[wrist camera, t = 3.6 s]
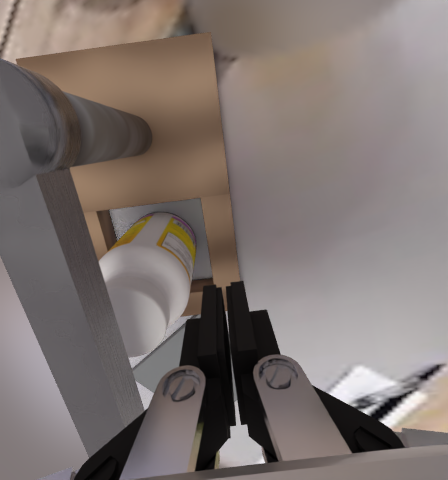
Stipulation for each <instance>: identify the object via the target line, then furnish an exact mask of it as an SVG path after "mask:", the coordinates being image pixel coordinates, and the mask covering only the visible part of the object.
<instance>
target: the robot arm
mask: <svg viewBox="0 0 448 480" xmlns="http://www.w3.org/2000/svg"><path fill="white" fill-rule="evenodd" d="M230 284H231V286H226V298H227V311H228V325H229V334H228V327H227V320H226V313H225V306H224V299H223V292H222V287H217V285H216V284H214V285H206V286H203V294H202V306H201V318H195V319H187V321H186V326H185V332H184V338H183V344H182V351H181V357H180V363H179V367H177V368H174V369H172V370H170V371H169V372H167V373H166V374H165V375H164V376H163V377H162V378H161V380H160V381H159V383H158V385H157V388H156V390H155V393H154V395H153V397H152V400H151V402H150V405H149V407H148V409H146V410H145V411H144V412H143V413H142V414H141V415H139V416H138V417H137V418H136V419H135V420H133V421H132V422H131V423H130V424H129V425H128V426H126V427H125V428H124V429H123V430H122V431H121V432H119V433H118V434H117V435H116V436H115V437H114V438H112V439H111V440H110V441H109V442H108V443H106V444H105V445H104V446H103V447H102V448H101V449H99V450H98V451H97V452H96V453H95V454H94V455H92V456H91V457H90V458H89V459H88V460H87V461H86V462H85V463H84V464H83V465H82V467H81V468H80V469H79V470H76V471H74V469H73V467H71V468H68V469H65V470H63V471H60V472H57V473H54V474H51V475H49V476H46V477H43V478H40V479H38V480H448V433H444V432H435V431H426V430H417V429H407V428H402V432H393V431H392V430H391V429H390V428H389V427H387V426H386V425H384V424H383V423H381V422H379V421H378V420H376V419H374V418H372V417H370V416H368V415H366V414H365V413H363V412H361V411H359V410H357V409H355V408H353V407H352V406H350V405H348V404H346V403H344V402H342V401H341V400H339V399H337V398H335V397H333V396H331V395H329V394H328V393H326V392H324V391H322V390H320V389H318V388H316V387H315V386H313V385H311V383H310V381H309V379H308V378H307V376H306V374H305V373H304V371H303V369H302V368H301V366H300V365H299V364H298V363H297V362H296V361H295V360H293V359H292V358H290V357H287V356H285V355H281V354H280V351H279V348H278V344H277V341H276V338H275V335H274V331H273V328H272V325H271V322H270V319H269V315H268V312H267V310H259V311H251V312H249V307H248V302H247V297H246V292H245V287H244V283H243V281H237V282H230ZM229 338H230V341H229ZM230 350H231V351H230ZM231 359H232V364H231ZM232 366H233V373H234V380H235V386H236V393H237V400H238V407H239V414H240V421H241V425H245V424H247V426H248V433H249V437H251V438H252V439H253V440H254V441H256V442H257V443H258V444H259V445H260V446H261V447H262V454H263V457H264V461H265V463H264V464H255V465H246V466H238V467H229V468H221V469H219V461H220V451H219V449H220V448H221V447H222V446H223V444H224V443H225V442H226V441H227V440H228V438H231V437H230V426H236V418H235V405H234V391H233V378H232Z"/></svg>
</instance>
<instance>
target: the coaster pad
mask: <svg viewBox="0 0 448 480" xmlns="http://www.w3.org/2000/svg"><path fill="white" fill-rule="evenodd" d="M195 318H201V314H198V315H194V316H193V317H192V318H191V319H195ZM185 326H186V323H185V324H184V325H183V326H182V327H180V328H179V329H178V330H177V331H176V332H175V333H173V334H172V335H171V336H170V337H169V338H168V339H167V340H165V341H164V342H163V343H162V344H161V345H160V346H158V347H157V348H156V349H155V350H154V351H153V352H151V353H150V354H149V355H148V356H147V357H146V358H145V359H143V360H142V361H141V362H140V363H139V364H138V365H136V366H135V367H134V368H133V369H132V372H133V375H134V378H135V380H136V381H137V382H139V383H140V384H141V385H143V386H144V387H146V388H147V389H149V390H150V391H152V392H153V393H155V390H156V388H157V385H158V383H159V381H160V380H161V378H162V377H163V376H164V375H165V374H166V373H167V372H169V371H170V370H172V369H174V368H177V367H179V363H180V357H181V351H182V344H183V338H184V332H185ZM229 341H230V338H229ZM230 351H231V350H230ZM231 364H232V359H231ZM232 378H233V391H234V402H235V401H236V400H237V393H236V386H235V380H234V373H233V366H232Z"/></svg>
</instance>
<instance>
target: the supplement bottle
mask: <svg viewBox="0 0 448 480" xmlns="http://www.w3.org/2000/svg"><path fill="white" fill-rule="evenodd" d="M195 256H196V239H195V236H194V233H193V231H192V230H191V228H190V227H189V225H188V224H187V223H186V222H185V221H183V220H182V219H181V218H179V217H177V216H175V215H173V214H169V213H164V212H156V213H151V214H148V215H145V216H143V217H142V218H140V219H139V220H138V221H137V222H135V223H134V224H133V225H132V226H131V228H130V229H129V230H128V231H127V232H126V233H125V234H124V235H123V236H122V237H121V238H120V239H119V240H118V241H117V242H116V243H115V245H114V246H113V247H112V248H111V249H110V250H109V251H108V252H107V253H106V254H105V255H104V256H103V257H102V258H101V259H100V260H99V261H98V262H99V265H100V268H101V271H102V275H103V278H104V281H105V284H106V288H107V291H108V294H109V297H110V301H111V304H112V307H113V310H114V313H115V317H116V320H117V323H118V326H119V330H120V333H121V336H122V339H123V343H124V346H125V349H126V352H127V356H128V357H136V356H141V355H144V354H146V353H148V352H150V351H152V350H153V349H155V348H156V347H157V346H158V345H159V344H160V343H161V341H162V340H163V338H164V336H165V333H166V330H167V327H169V326H171V325H172V324H173V323H175V322H176V321H177V320H178V319H179V318H180V316H181V315H182V314H183V312H184V310H185V308H186V306H187V303H188V299H189V295H190V288H191V281H192V275H193V269H194V263H195Z"/></svg>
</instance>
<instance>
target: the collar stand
mask: <svg viewBox="0 0 448 480" xmlns="http://www.w3.org/2000/svg"><path fill="white" fill-rule="evenodd" d="M16 62H17V65H19V66H21V67H24V68H26V69H29V70H31V71H34V72H37V73H39V74H41V75H43V76H44V77H46V78H47V79H49V80H50V81H52V82H53V83H54V84H55V85H56V86H58V87H59V88H60V89H61V91H62V92H63V93H64V94H65V95H66V96H67V98H68V99H69V101H70V102H71V104H72V106H73V108H74V110H75V112H76V114H77V117H78V120H79V124H80V128H81V146H80V151H79V154H78V157H77V159H76V161H75V162H74V164H73V165H72V167H71V168H70V171H71V174H72V178H73V181H74V184H75V187H76V191H77V194H78V197H79V200H80V203H81V207H82V210H83V213H84V216H85V220H86V223H87V226H88V229H89V233H90V236H91V239H92V242H93V246H94V249H95V252H96V255H97V258H98V261H99V260H100V259H101V258H102V257H103V256H104V255H105V254H106V253H107V252H108V251H109V250H110V249H111V248H112V247H113V246H114V245H115V243H116V242H117V239H116V236H115V232H114V228H113V225H112V221H111V218H110V214H109V209H117V208H125V207H133V206H140V205H148V204H156V203H163V202H171V201H179V200H187V199H194V198H201V204H202V210H203V216H204V223H205V229H206V236H207V242H208V249H209V255H210V262H211V268H212V274H213V278H210V279H202V280H194V281H191V288H190V295H189V299H188V303H187V306H186V308H185V310H184V312H183V314H182V315H181V316H180V317H182V316H190V315H198V314H201V306H202V294H203V286H206V285H214V284H216V285H217V287H222V292H223V299H224V306H225V311H227V298H226V286H231V284H230V282H237V281H240V276H239V268H238V259H237V251H236V242H235V233H234V225H233V216H232V208H231V199H230V191H229V182H228V174H227V165H226V157H225V148H224V140H223V131H222V123H221V114H220V106H219V97H218V89H217V80H216V72H215V63H214V55H213V46H212V38H211V32H207V33H200V34H193V35H186V36H179V37H171V38H164V39H157V40H150V41H142V42H135V43H128V44H121V45H114V46H106V47H99V48H92V49H85V50H78V51H70V52H63V53H56V54H49V55H41V56H34V57H27V58H20V59H16Z"/></svg>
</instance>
